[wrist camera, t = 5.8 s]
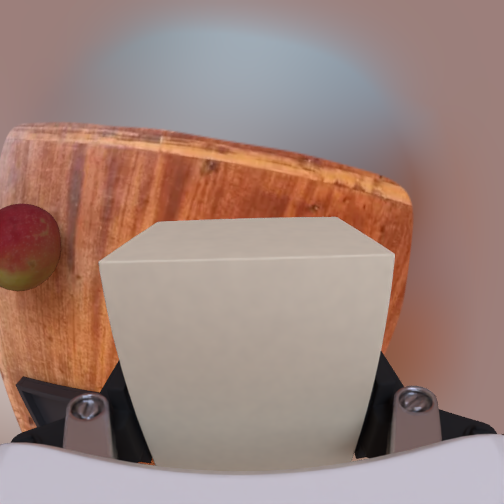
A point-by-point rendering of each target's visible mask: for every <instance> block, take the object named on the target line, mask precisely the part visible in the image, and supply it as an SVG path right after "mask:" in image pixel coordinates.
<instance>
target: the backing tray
mask: <svg viewBox="0 0 504 504" xmlns="http://www.w3.org/2000/svg"><path fill="white" fill-rule="evenodd" d="M16 387H17V389H18V391H19V393H20V395H21V397H22V399H23V401H24V403H25V405H26V407H27V409H28V411H29V413H30V415H31V417H32V419H33V420H34V422H35V424H36V426H37V427H40V426H43V425H46V424H49V423H51V422H54V421H57V420H60V419H62V418H65V416H66V408H67V405H68V403H69V402H70V401H71V400H72V399H73V398H75V397H76V396H78V395H81V394H85V393H97V394H99V393H98V392H92V391H86V390H81V389H76V388H71V387H66V386H61V385H56V384H52V383H47V382H43V381H39V380H35V379H31V378H27V377H22V378H21V379H20V381H19V382H18V383H17V384H16Z"/></svg>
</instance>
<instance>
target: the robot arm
mask: <svg viewBox="0 0 504 504" xmlns="http://www.w3.org/2000/svg"><path fill="white" fill-rule="evenodd" d="M354 453H355V456H356V458H357V459H358V458H364V457H367V458H369V459H364V460H359V461H353V462H347V463H340V464H333V465H326V466H317V467H308V468H297V469H284V470H265V471H215V470H195V469H182V468H171V467H162V466H154V465H146V464H139V463H138V462H146V463H151V460H152V455H151V453H150V450H149V448H148V445H147V443H146V440H145V438H144V435H143V432H142V430H141V427H140V424H139V421H138V418H137V416H136V413H135V410H134V407H133V404H132V401H131V398H130V395H129V391H128V388H127V385H126V382H125V378H124V375H123V372H122V368H121V365H120V361H118V363H117V365H116V366H115V368H114V370H113V371H112V373H111V375H110V376H109V378H108V380H107V381H106V383H105V385H104V386H103V388H102V390H101V392H100V393H99V394H97V393H85V394H81V395H78V396H76V397H75V398H73V399H72V400H71V401H70V402H69V403H68V405H67V408H66V416H65V418H62V419H60V420H57V421H54V422H51V423H49V424H46V425H43V426H40V427H37V428H34V429H31V430H28V431H25V432H23V433H20V434H18V435H17V436H16V437H14V438H13V440H12V441H11V443H5V444H0V504H504V434H502V435H499V434H497V433H496V431H495V430H494V429H493V428H492V427H491V426H490V425H488V424H485V423H483V422H479V421H476V420H472V419H469V418H465V417H462V416H459V415H455V414H452V413H449V412H446V411H443V410H439V409H438V402H437V399H436V396H435V395H434V394H433V393H432V392H431V391H429V390H428V389H426V388H423V387H419V386H407V387H404V386H403V384H402V383H401V381H400V380H399V378H398V376H397V375H396V373H395V372H394V370H393V369H392V367H391V366H390V364H389V362H388V361H387V359H386V358H385V356H384V355H383V353H382V351H381V352H380V357H379V362H378V367H377V371H376V375H375V380H374V384H373V388H372V392H371V396H370V400H369V404H368V408H367V411H366V415H365V419H364V422H363V426H362V429H361V432H360V436H359V439H358V442H357V445H356V449H355V452H354Z"/></svg>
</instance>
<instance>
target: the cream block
mask: <svg viewBox="0 0 504 504" xmlns="http://www.w3.org/2000/svg"><path fill="white" fill-rule="evenodd" d="M394 259H395V254H394V253H392V252H391V251H389V250H388V249H386V248H385V247H383V246H382V245H380V244H379V243H377V242H376V241H374V240H373V239H371V238H369V237H368V236H366V235H365V234H363V233H362V232H360V231H358V230H357V229H355V228H354V227H352V226H350V225H349V224H347V223H346V222H344V221H342V220H341V219H339V218H337V217H297V218H249V219H217V220H191V221H168V222H157V223H155V224H154V225H152V226H151V227H149V228H148V229H146V230H145V231H143V232H142V233H140V234H139V235H137V236H136V237H134V238H133V239H131V240H130V241H128V242H127V243H125V244H124V245H122V246H121V247H119V248H118V249H116V250H115V251H113V252H112V253H110V254H109V255H108V256H106V257H105V258H103V259H102V260H100V261H99V270H100V275H101V281H102V287H103V292H104V297H105V302H106V307H107V312H108V316H109V321H110V325H111V330H112V334H113V338H114V342H115V346H116V350H117V353H118V357H119V361H120V365H121V368H122V372H123V375H124V378H125V382H126V385H127V388H128V391H129V395H130V398H131V401H132V404H133V407H134V410H135V413H136V416H137V418H138V421H139V424H140V427H141V430H142V432H143V435H144V438H145V440H146V443H147V445H148V448H149V450H150V453H151V455H152V458H153V460H154V463H155V465H156V466H162V467H171V468H182V469H195V470H215V471H265V470H284V469H297V468H308V467H317V466H326V465H333V464H340V463H347V462H351V460H352V458H353V454H354V452H355V449H356V445H357V442H358V439H359V436H360V432H361V429H362V426H363V422H364V419H365V415H366V411H367V408H368V404H369V400H370V396H371V392H372V388H373V384H374V380H375V375H376V371H377V367H378V362H379V357H380V352H381V347H382V342H383V337H384V331H385V325H386V319H387V313H388V307H389V300H390V293H391V285H392V277H393V268H394Z"/></svg>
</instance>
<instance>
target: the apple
mask: <svg viewBox="0 0 504 504" xmlns="http://www.w3.org/2000/svg"><path fill="white" fill-rule="evenodd" d="M60 254H61V240H60V233H59V228H58V225H57V222H56V221H55V219H54V218H53V217H52V216H51V215H50V214H49V213H48V212H47V211H45V210H43V209H41V208H39V207H37V206H34V205H29V204H15V205H10V206H7V207H5V208H2V209H1V210H0V287H2V288H5V289H8V290H12V291H25V290H29V289H32V288H35V287H37V286H38V285H40V284H41V283H43V282H44V281H45V280H47V279H48V278H49V277H50V276H51V274H52V273H53V272H54V270H55V268H56V266H57V264H58V261H59V258H60Z"/></svg>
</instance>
